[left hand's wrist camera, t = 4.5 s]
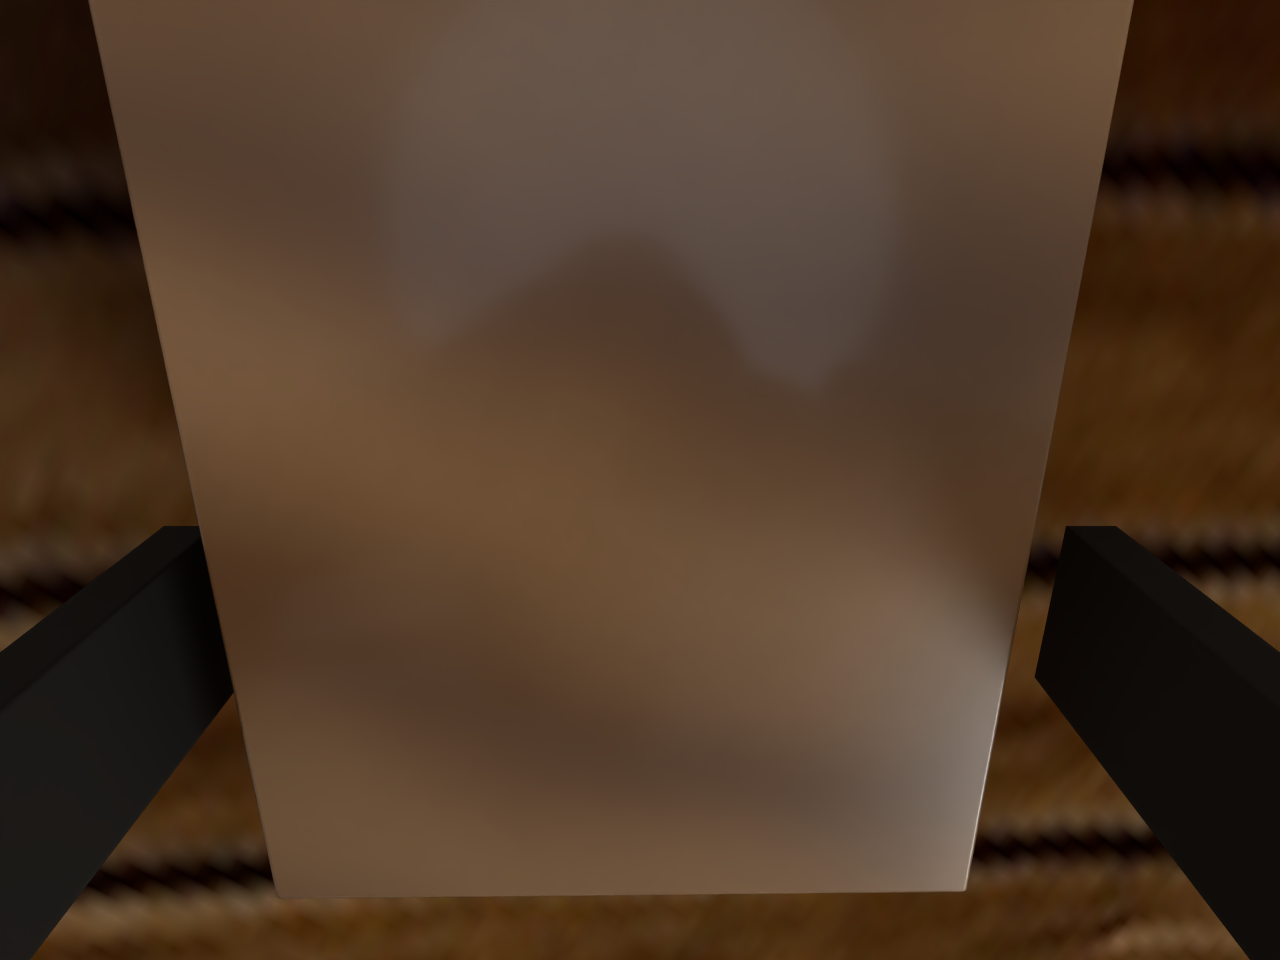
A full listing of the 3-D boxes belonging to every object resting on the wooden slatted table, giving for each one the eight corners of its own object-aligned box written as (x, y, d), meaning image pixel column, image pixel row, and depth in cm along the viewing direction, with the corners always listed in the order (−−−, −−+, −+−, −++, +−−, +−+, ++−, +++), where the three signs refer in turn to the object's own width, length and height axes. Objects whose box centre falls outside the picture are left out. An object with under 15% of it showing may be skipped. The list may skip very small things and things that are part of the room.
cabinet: (295, -428, 13) (-188, -1288, 5) (938, -423, 13) (1375, -1256, 5) (413, 615, 19) (275, 900, 12) (837, 613, 19) (967, 894, 12)
